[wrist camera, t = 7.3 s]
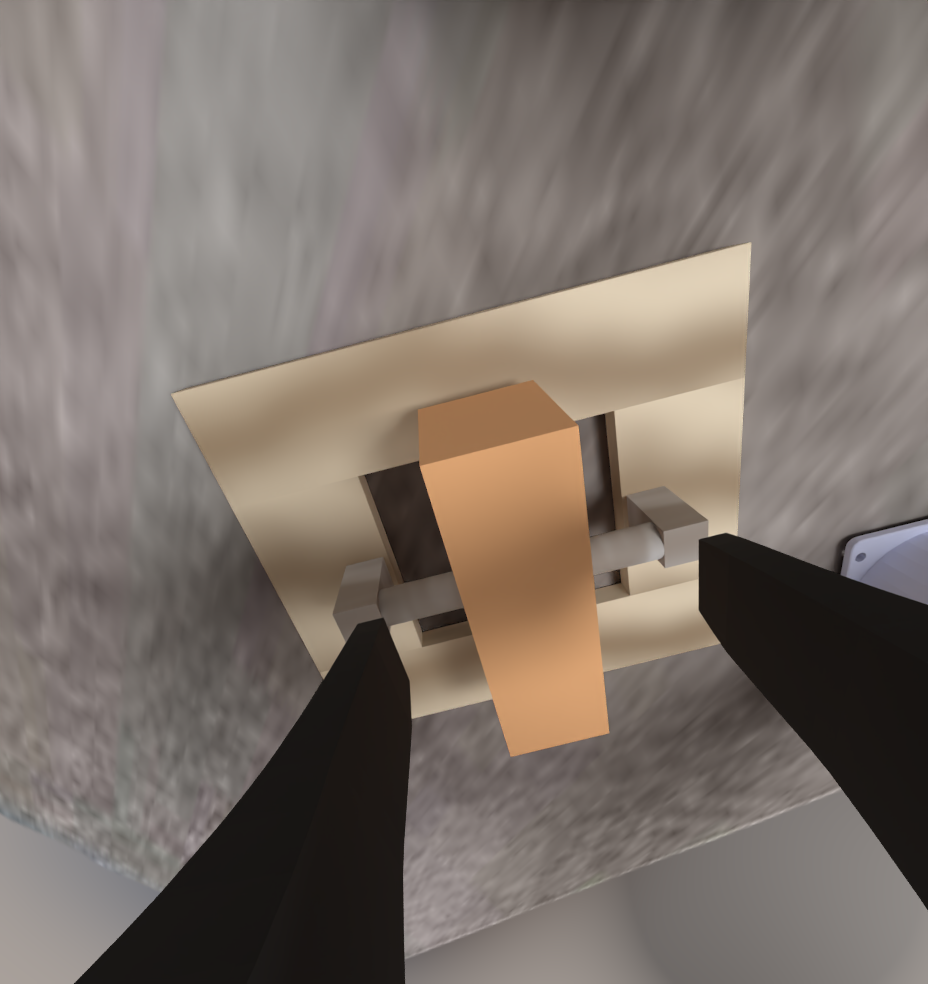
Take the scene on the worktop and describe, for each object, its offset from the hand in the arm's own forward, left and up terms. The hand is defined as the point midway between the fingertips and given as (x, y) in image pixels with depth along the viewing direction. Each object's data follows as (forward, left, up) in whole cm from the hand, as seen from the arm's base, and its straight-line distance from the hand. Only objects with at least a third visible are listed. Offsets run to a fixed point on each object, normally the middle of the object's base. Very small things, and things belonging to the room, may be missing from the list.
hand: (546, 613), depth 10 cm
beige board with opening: (-3, 0, -9) cm, 9 cm away
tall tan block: (-3, 0, -7) cm, 8 cm away
